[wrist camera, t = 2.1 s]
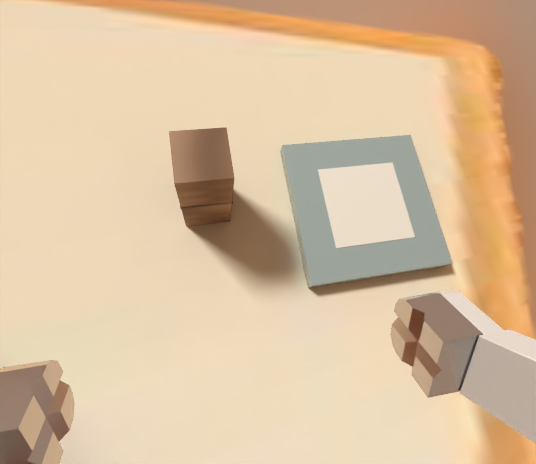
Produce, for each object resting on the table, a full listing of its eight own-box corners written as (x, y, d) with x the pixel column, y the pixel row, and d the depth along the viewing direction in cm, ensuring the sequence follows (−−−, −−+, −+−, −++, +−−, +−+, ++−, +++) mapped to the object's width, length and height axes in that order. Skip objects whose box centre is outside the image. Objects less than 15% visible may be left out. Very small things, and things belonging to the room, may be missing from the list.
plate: (308, 287, 31) (311, 285, 30) (280, 151, 35) (282, 144, 34) (444, 266, 34) (452, 263, 32) (404, 141, 38) (410, 134, 36)
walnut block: (185, 226, 31) (173, 184, 23) (181, 185, 32) (168, 130, 24) (230, 221, 32) (235, 178, 24) (224, 181, 33) (226, 126, 25)
